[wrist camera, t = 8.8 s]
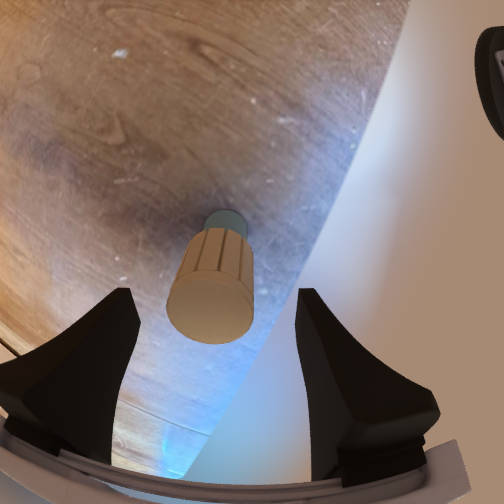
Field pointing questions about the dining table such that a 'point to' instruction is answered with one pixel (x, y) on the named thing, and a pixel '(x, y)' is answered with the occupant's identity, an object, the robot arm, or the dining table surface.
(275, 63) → the dining table surface
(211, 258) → the fluted tan knob
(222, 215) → the bottle
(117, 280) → the dining table surface
